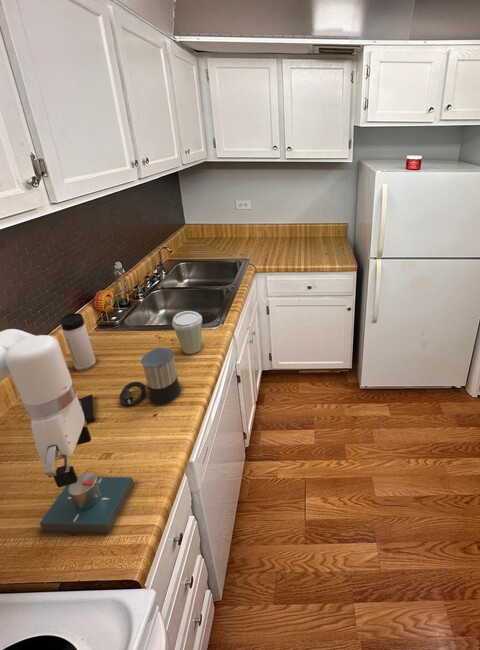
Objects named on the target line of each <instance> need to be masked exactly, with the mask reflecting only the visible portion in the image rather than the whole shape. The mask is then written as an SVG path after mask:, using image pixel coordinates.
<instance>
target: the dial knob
mask: <svg viewBox="0 0 480 650" xmlns="http://www.w3.org/2000/svg"><path fill="white" fill-rule="evenodd" d="M77 476H78V477H77V478H78V480H77V482H76V483H74V484H70V486H69V493H70V496H71V498H72V501H73V503H74V506H75V508H76V509H77V510H80V511H83V510H87V509H89V508H91V507H92V506H94V505H95V504H96V503H97V502H98V501H99V499H100V497H101V494H102V491H101V488H100V485H99V482H98V479H97V477H98V476H97V475H96V473H94V472H91V471H88V472H84V473H82V474H80V475H77Z"/></svg>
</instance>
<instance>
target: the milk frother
mask: <svg viewBox="0 0 480 650" xmlns="http://www.w3.org/2000/svg"><path fill="white" fill-rule="evenodd" d="M174 356H175V352H174V351H173V350H172V349H171V348H169V347H157V348H156V347H155V348H153V349H151V350H149V351H148V352H146V353H145V354H143V356H142V357H141V359H140V364H141V366H142V368H143V371H144V375H145V380H146V383H147V385H146V384H144V383H142V382H140V381H132V382H129V383H128V384H126V385H125V386H124V387H123V388H122V389H121V391H120V394H119V402H120V403H121V405H123V406H127V407H130V406H133V405H137V404H139V403H140V402H141V401H142V400H143V399H144V397H145V396H146V390H148V394H149V402H150V403H151V404H153V405H156V406H163V405H167V404H169V403H172V402H173V401H175V400H176V399H177V398H178V397H179V396H180V394H181V392H182V389H181V386H180V383H179V378H178V374H177V367H176V362H175V358H174ZM135 387H137V388H139V389H140V390H141V392H140V394H139V396H138V397H137V398H136V399H134V400H133V396H132V395H131V392H130V389H131V388H135Z"/></svg>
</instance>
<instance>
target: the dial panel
mask: <svg viewBox="0 0 480 650" xmlns="http://www.w3.org/2000/svg"><path fill="white" fill-rule="evenodd" d="M76 476H77V477H78V476H79V475H76ZM96 477H97V479H98V482H99V485H100V488H101V491H102V494H101V497H100V499H99V501H98V502H97V503H96V504H95V505H94V506H92V507H91V508H89V509H87V510H83V511H80V510H77V509H76V508H75V506H74V503H73V501H72V498H71V496H70V493H69V486H70V485H67V486H64V488H63V490H62V491H61V492H60V494H58V497H57V498H56V499H55V501H53V504H52V505H51V506H50V507H49V509H48V510H47V512H46V513H45V515H44V516H43V517H42V519H41V520H40V522H39V525H40V528H41V529H42V531H43V532H47V533H48V532H52V533H53V532H55V533H57V532H58V533H60V532H61V533H94V534H95V533H97V534H98V533H101V534H109V533H110V532H111V530H112V529H113V527H114V526H115V523H116V521H117V519H118V517H119V515H120V513H121V512H122V510H123V508H124V506H125V504H126V502H127V500H128V499H129V497H130V495H131V493H132V491H133V489H134V487H135V482H134V479H133V477H132V476H129V477H128V476H127V477H126V476H96Z"/></svg>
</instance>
